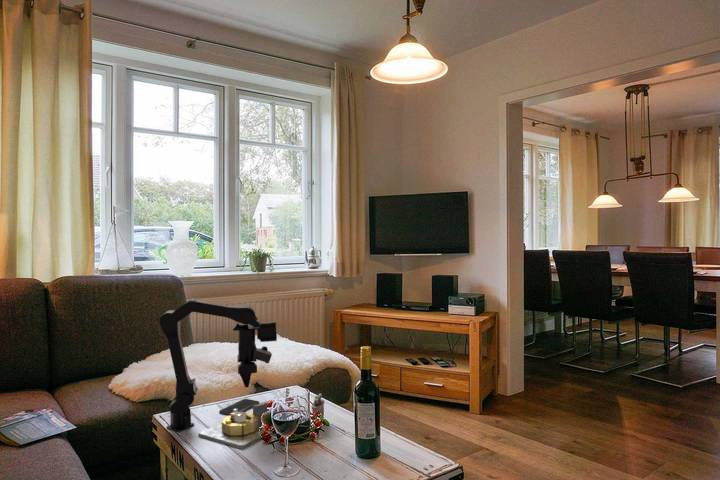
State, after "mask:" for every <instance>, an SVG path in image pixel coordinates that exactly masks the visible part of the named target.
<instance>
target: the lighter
mask: <svg viewBox="0 0 720 480" xmlns="http://www.w3.org/2000/svg"><path fill="white" fill-rule="evenodd" d="M322 398H323V394H322V393H318V395H317V396H316V395H315V397H314V400H313V403H312V406H311V409H312V410H311V412H312V413H311V414H314V413H316V412H317V411H319V412H320V413H321V414H322V419H324V420H325V417H324V416H325V399H322Z"/></svg>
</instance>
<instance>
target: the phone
mask: <svg viewBox="0 0 720 480" xmlns="http://www.w3.org/2000/svg"><path fill="white" fill-rule="evenodd" d="M259 403H261V402H260V401H259V400H255V399H248V398H244V399H240V400H239V401H237V402H235V403H232V404H230V405H228V406H225V407H224V408H221V409H219V412H218V413H219V415H225V416H230V415H231V413H233V409H235V408H237V409H238V412H245V413H246V411H248V410H251V409H253V405H256V404H259Z"/></svg>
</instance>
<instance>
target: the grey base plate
mask: <svg viewBox="0 0 720 480" xmlns="http://www.w3.org/2000/svg"><path fill="white" fill-rule="evenodd" d="M233 413H235V414H234V423H244V420H246V413H247V412H246V411H245V412H238V409H237V408H235V409H233ZM261 426H262V423H260V424H258V427H257V429H256V431H254V432H251V433H248V434H245V435H243V434H242V435H227V434H225V433H224V432H222V422H221V423H218V424H216V425H214V426H211V427H209V428H207V429H205V430H203V431H201V432H198V437H199V438H203V439H206V440H210V441H213V442H217V443H219V444H220V443H221V444H224V445H227V446H230V447H233V448H237V449H241V450H244V449H246V448H247V447H250V446H251V445H253V444H255V443H257V442H258V441H260V440H262V439H261V436H260V434H259V427H261Z"/></svg>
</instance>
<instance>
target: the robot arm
mask: <svg viewBox="0 0 720 480" xmlns="http://www.w3.org/2000/svg"><path fill="white" fill-rule="evenodd" d="M191 313H198V314H205V315H211V316H216V317H220V318H221V317H222V318H226V319H229V320H232V321H234V322H236V324H235V326H233V328H232V331H233V332H234V331H235V332H236V331H238V332H237V333H238V335H237V336H238V337H237V338H238V343H237V344H238V345H237V346H238V347H237V348H238V350H237V351H238V352H237V353H238V354H237V356H236V358H237V359H236V361H237V363H239V364H238V365H237V374H238V375H239V376H240V379H241V380H242V383H243V386H244V387H245V388H249V386H250V381H251V378H252V374H257V373H258V366H257V363H256V362H257V361H260V362H264V363H265V364H269V363H270V362H271V359H272V357H273V353H272V352H271V351H270V350H268V347H267V346H265V345H263V346H262V347H261V348H258V347H257V344H256V339H257V340H259V341H260V343H266V342H268V343H269V342H277V341H278V340H277V339H278V338H277V337H278V333H277V322H276V321H270V322H261V320H260V319H259V318H258V317H257V316H256V311H255V309H254V307H253V306H251V305H242V304H241V305H227V304H226V305H225V304H220V303H215V302H209V301H203V300H198V299H195V298H191V299H189V300H188V301H186V302H185V303H184V304H182V305H180V306H179V307H177V308H176V309H174V310H172V309H171V310H167V311H165V312H164V313H163V314H162V315H161V316H160V317H159V321H158V322H159V326H160V328H161V331H162V334H163V335H164V336H165V338H166V340H167V343H168V348H169V353H170V357H171V362H172V366H173V371H174V375H175V376H174V377H175V381H176V382H175V384H176V385H175V397H174V398H173V399H172V401H171V403H170V405H169V408H168V410H169V413H170V414H169V415H170V417H169V418H170V421H169V423H170V424H168V425H167V426H166V429H169V430H172V431H176V432H182V431H183V430H186V429H188V428H191V427H193V426H195V423H194V422H192V418H191V417H192V413H191V408H190V406H191V405H192V404H193V402H194V401H195V398H196V395H197V392H198V389H199V388H198V386H197V385H196V381H197V380H196V377H195V378H194V377H193V378H191V377H190V375H189V371H188V367H187V362H186V357H185V353H184V348H183V344H182V339H181V320H183V319H184V318H186V317H187V316H189V315H190V314H191ZM249 325H250V326H249ZM256 336H257V337H256Z"/></svg>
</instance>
